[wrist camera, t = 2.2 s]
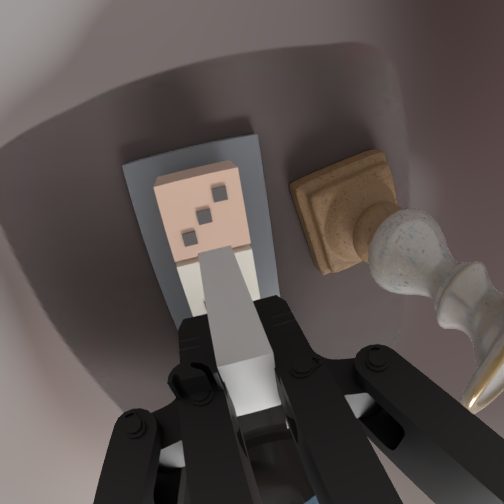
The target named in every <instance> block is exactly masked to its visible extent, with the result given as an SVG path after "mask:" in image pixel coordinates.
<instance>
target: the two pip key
mask: <svg viewBox="0 0 504 504" xmlns="http://www.w3.org/2000/svg"><path fill="white" fill-rule="evenodd" d="M232 249H233V252H234V255H235V257H236V260H237V262H238V265H239V267H240V270H241V273H242V275H243V278H244V280H245V283H246V285H247V288H248V291H249V293H250V296H251V298H252V301H255V300H259V299H260V293H259V287H258V282H257V276H256V270H255V264H254V258H253V252H252V248H251V246H250V244H246V245H242V246H238V247H234V248H232ZM177 270H178V273H179V276H180V280H181V283H182V286H183V289H184V292H185V295H186V298H187V300H188V303H189V306H190V309H191V312H192V315H193V317H195V316H199V315H203V314H207V309H206V303H205V297H204V291H203V284H202V278H201V271H200V265H199V258H198V256H197V257H193V258H189V259H185V260H181V261H177Z"/></svg>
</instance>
